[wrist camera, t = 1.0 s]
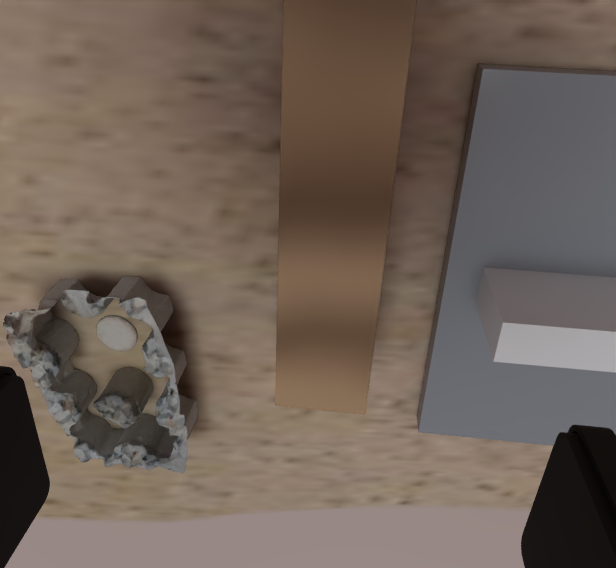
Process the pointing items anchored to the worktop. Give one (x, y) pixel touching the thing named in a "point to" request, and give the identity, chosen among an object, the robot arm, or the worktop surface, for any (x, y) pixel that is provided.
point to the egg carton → (124, 384)
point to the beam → (336, 192)
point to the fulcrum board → (529, 263)
